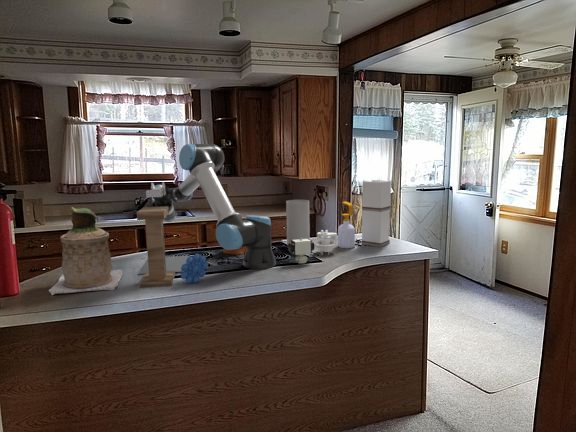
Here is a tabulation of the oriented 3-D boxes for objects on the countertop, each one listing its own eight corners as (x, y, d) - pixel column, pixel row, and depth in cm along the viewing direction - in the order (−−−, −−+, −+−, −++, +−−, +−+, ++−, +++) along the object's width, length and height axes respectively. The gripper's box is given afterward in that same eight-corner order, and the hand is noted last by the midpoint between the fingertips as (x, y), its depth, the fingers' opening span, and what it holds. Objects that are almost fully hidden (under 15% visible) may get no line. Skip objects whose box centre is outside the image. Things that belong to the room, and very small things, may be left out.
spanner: (161, 196, 175) (160, 190, 175) (146, 197, 174) (145, 191, 174) (167, 191, 197) (167, 186, 197) (154, 192, 196) (154, 186, 196)
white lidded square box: (389, 243, 235) (390, 180, 229) (380, 246, 227) (381, 182, 221) (371, 240, 242) (372, 180, 236) (361, 244, 234) (362, 181, 228)
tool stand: (170, 285, 168) (166, 211, 163) (139, 287, 166) (133, 212, 161) (175, 274, 183) (171, 205, 179) (146, 275, 182) (141, 207, 177)
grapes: (204, 277, 178) (203, 249, 176) (211, 281, 172) (209, 253, 170) (177, 282, 171) (176, 254, 169) (183, 287, 166) (182, 257, 164)
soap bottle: (342, 244, 235) (343, 200, 231) (357, 245, 230) (358, 201, 226) (334, 247, 228) (334, 202, 224) (349, 249, 223) (350, 203, 219)
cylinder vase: (282, 246, 231) (281, 201, 227) (295, 242, 241) (294, 199, 237) (301, 249, 224) (301, 203, 220) (313, 245, 234) (313, 200, 230)
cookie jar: (118, 290, 164) (111, 208, 159) (47, 297, 157) (38, 212, 152) (123, 272, 187) (117, 201, 182) (62, 278, 180) (54, 204, 175)
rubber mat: (184, 272, 186) (184, 271, 186) (137, 275, 183) (137, 273, 183) (189, 256, 213) (189, 255, 213) (148, 258, 210) (148, 257, 210)
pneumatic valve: (314, 262, 198) (314, 237, 196) (291, 265, 194) (290, 239, 192) (310, 259, 203) (310, 235, 201) (287, 262, 199) (287, 237, 197)
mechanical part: (313, 255, 210) (313, 232, 208) (316, 250, 222) (315, 228, 220) (336, 256, 208) (336, 233, 206) (337, 250, 220) (337, 228, 218)
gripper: (182, 211, 208) (177, 192, 186) (146, 213, 205) (137, 193, 184) (182, 197, 211) (177, 177, 189) (147, 199, 208) (137, 178, 186)
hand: (157, 185), depth 186 cm, fingers closed on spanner, 4 cm apart
